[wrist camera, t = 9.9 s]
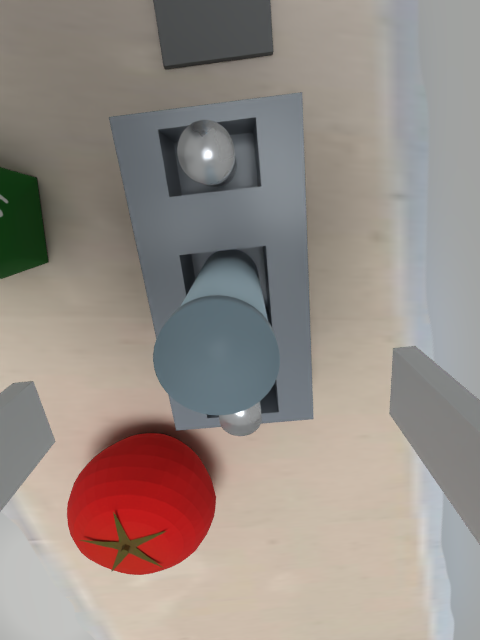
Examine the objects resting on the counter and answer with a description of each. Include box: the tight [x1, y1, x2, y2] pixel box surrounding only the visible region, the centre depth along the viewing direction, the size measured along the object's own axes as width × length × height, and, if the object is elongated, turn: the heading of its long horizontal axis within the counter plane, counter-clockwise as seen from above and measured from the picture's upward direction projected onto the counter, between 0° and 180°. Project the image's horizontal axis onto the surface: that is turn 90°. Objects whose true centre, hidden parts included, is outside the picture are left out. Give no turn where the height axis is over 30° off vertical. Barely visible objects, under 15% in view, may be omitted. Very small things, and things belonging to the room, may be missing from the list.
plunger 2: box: [219, 402, 262, 436], centre depth 28 cm, size 3×3×7 cm
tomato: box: [67, 433, 216, 575], centre depth 33 cm, size 14×13×10 cm
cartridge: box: [153, 249, 280, 415], centre depth 21 cm, size 5×5×16 cm
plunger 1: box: [177, 120, 237, 187], centre depth 21 cm, size 3×3×7 cm
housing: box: [109, 92, 313, 430], centre depth 27 cm, size 24×12×6 cm, turn 6°
